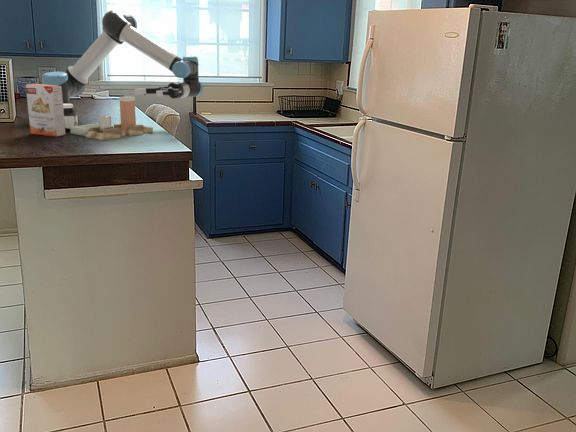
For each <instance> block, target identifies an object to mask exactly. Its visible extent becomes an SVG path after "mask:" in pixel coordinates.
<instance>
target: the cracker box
mask: <svg viewBox="0 0 576 432" xmlns="http://www.w3.org/2000/svg"><path fill="white" fill-rule="evenodd" d="M25 89H26V91H25V92H26V101H27V112H28V119H29V121H28V122H29V130H30V134H31V135H38V136H39V135H40V136H48V137H55V138H56V137H57V138H58V137H62V136H66V134H67V132H65V121H64V109H63V97H62V86H55V85H45V84H42V83H28V84H25Z"/></svg>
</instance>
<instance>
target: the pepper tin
mask: <svg viewBox="0 0 576 432" xmlns="http://www.w3.org/2000/svg"><path fill="white" fill-rule="evenodd" d="M97 117H98V120H97V121H98V124H99V133H103V129H111V126H112V118H111V117H112V116H111V115H108V114H107V115H105V114H102V115H98V116H97Z"/></svg>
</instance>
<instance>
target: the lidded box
mask: <svg viewBox="0 0 576 432" xmlns="http://www.w3.org/2000/svg"><path fill="white" fill-rule="evenodd" d="M119 110H120V111H119V112H120V113H119V114H120V115H119V116H120V124H121V131H125V136H127V131H126V126H133V125H137V122H136V121H137V119H136V97H135V96H129V95H126V96H119Z"/></svg>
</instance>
